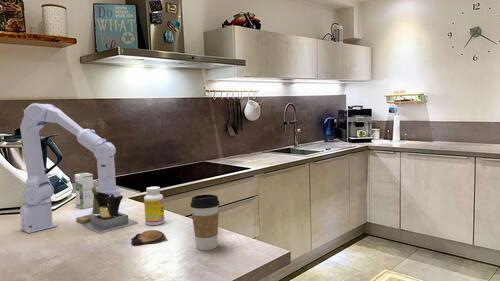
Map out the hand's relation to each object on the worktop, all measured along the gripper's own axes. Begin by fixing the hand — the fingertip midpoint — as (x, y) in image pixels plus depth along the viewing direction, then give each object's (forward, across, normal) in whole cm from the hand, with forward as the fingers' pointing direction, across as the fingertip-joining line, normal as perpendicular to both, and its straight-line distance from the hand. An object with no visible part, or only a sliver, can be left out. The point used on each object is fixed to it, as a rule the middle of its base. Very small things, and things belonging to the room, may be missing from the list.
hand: (109, 214), depth 132 cm
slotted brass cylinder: (+3, 0, 0) cm, 3 cm away
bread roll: (+5, -26, 0) cm, 27 cm away
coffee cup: (+4, -45, -7) cm, 46 cm away
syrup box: (+4, +34, -6) cm, 35 cm away
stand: (+4, +11, +3) cm, 12 cm away
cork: (+4, +20, -6) cm, 21 cm away
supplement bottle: (+4, -12, -11) cm, 17 cm away
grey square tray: (+4, 0, 0) cm, 4 cm away
